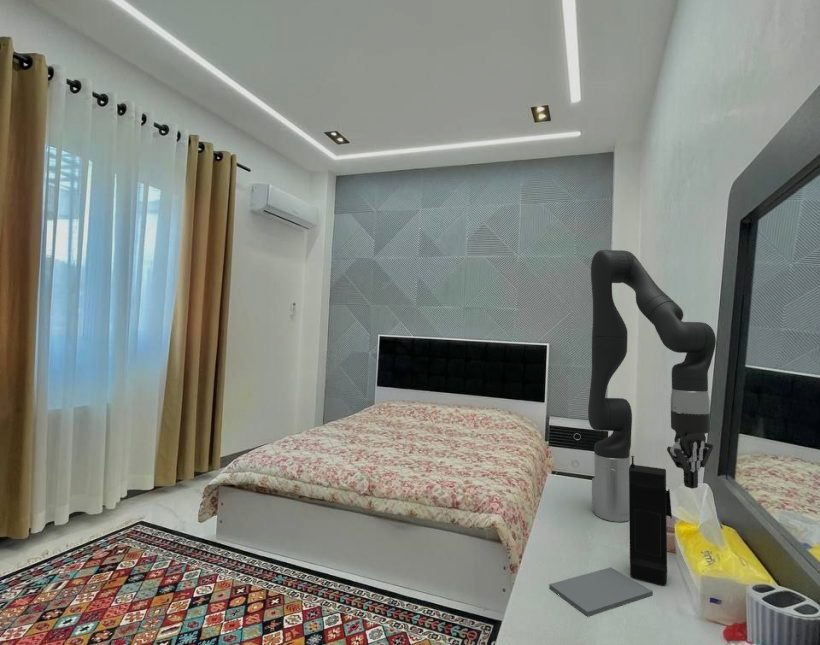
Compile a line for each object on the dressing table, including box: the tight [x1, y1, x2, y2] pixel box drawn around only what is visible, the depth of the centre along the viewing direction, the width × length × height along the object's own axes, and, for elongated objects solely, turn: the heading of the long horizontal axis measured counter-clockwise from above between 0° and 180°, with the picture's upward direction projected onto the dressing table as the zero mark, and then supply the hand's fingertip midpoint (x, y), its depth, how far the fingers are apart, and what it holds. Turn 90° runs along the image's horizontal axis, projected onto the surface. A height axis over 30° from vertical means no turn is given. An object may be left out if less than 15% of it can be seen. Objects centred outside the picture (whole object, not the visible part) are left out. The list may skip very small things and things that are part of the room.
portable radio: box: [628, 455, 673, 586], centre depth 95 cm, size 8×6×25 cm
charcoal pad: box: [548, 566, 654, 617], centre depth 89 cm, size 10×17×1 cm, turn 114°
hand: (690, 487), depth 101 cm, fingers closed
